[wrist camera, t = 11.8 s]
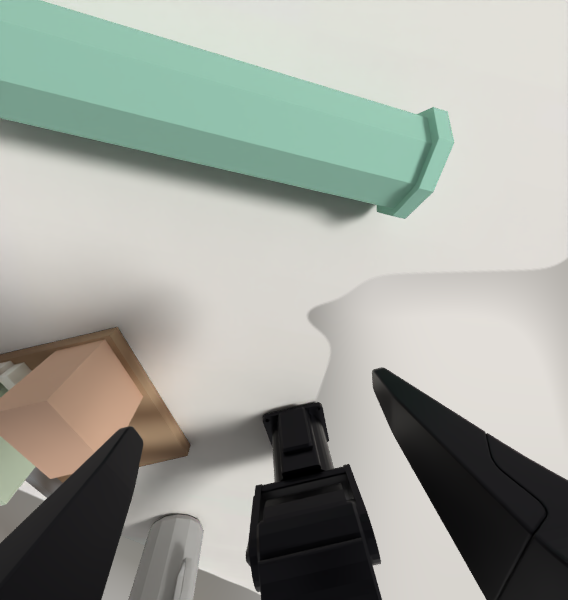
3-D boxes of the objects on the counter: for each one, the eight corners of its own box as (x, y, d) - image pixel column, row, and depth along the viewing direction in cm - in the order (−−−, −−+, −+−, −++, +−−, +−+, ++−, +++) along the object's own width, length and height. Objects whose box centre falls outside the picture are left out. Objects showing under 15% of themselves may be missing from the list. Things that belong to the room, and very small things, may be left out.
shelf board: (190, 444, 27) (183, 470, 25) (63, 474, 27) (45, 502, 25) (117, 327, 20) (98, 346, 18) (-54, 367, 20) (-96, 392, 18)
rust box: (105, 339, 19) (46, 400, 14) (143, 396, 22) (107, 465, 17) (53, 351, 19) (-25, 417, 14) (98, 407, 22) (48, 479, 17)
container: (-214, 43, 8) (443, 202, 12) (-199, -145, 8) (464, 81, 12) (-22, 144, 14) (379, 229, 18) (-10, 38, 14) (393, 148, 18)
